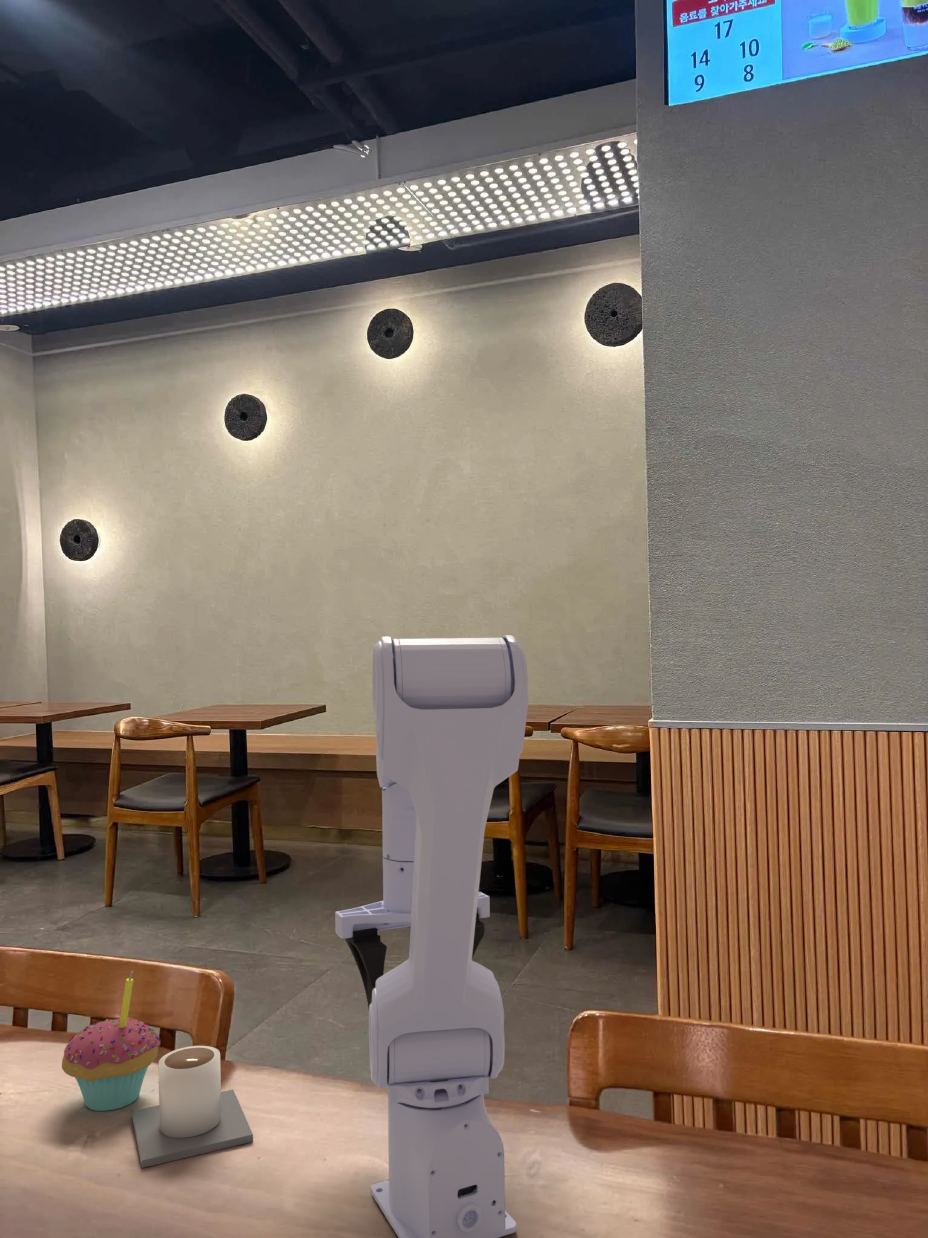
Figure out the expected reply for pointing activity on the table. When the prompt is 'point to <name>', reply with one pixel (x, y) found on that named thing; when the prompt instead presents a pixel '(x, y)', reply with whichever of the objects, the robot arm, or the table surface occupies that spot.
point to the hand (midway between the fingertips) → (415, 1006)
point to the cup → (189, 1091)
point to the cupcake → (111, 1058)
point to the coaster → (166, 1149)
